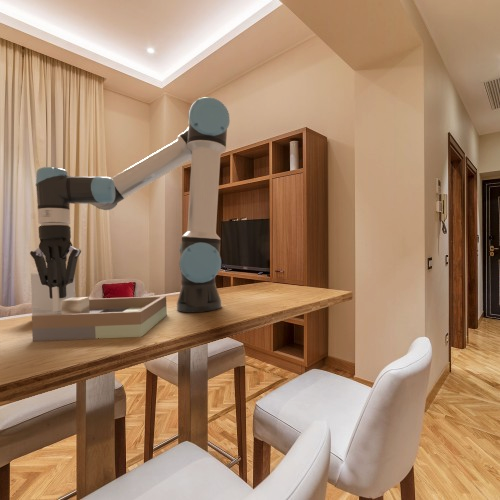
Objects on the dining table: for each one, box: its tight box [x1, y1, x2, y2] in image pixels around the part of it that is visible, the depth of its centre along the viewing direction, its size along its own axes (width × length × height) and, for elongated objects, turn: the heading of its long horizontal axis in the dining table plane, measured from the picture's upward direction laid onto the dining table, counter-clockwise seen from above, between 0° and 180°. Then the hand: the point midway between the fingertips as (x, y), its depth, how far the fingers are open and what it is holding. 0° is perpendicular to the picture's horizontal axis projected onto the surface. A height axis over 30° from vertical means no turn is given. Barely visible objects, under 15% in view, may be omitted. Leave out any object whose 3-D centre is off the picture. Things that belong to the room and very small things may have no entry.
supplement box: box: [30, 272, 77, 317], centre depth 102 cm, size 9×9×15 cm
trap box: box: [31, 295, 168, 342], centre depth 87 cm, size 26×24×6 cm
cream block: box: [61, 296, 90, 314], centre depth 87 cm, size 5×5×5 cm
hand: (58, 309), depth 87 cm, fingers closed
